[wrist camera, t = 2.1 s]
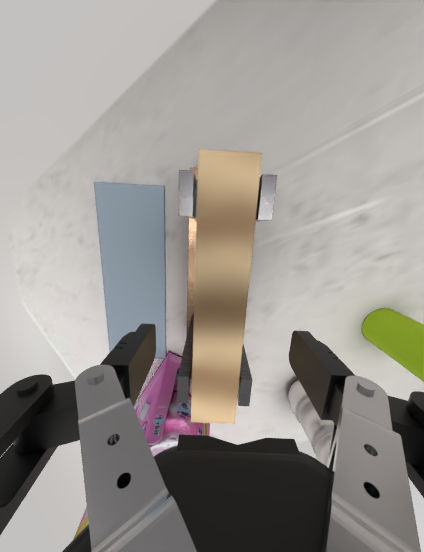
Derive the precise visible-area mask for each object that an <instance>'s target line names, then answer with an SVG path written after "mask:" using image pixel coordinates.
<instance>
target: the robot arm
mask: <svg viewBox="0 0 424 552" xmlns="http://www.w3.org/2000/svg"><path fill="white" fill-rule="evenodd" d="M155 354H156V326H155V324H143V323H142V324H140V326H139V327H138V328H137V330H136V331H135V332H129V333H128V334H126V335H125V336H123V337H122V338H121V340H120V341H119V342H118V344H117V345H116V346H115V347H114V349H112V351H111V352H110V353H109V354H108V356H107V357H106V358H105V359H104V360H103V362H102V363H101V364H100V365H97V366H93V367H91V368H88V369H86V370H85V371H83V372H82V373H81V374H80V375H79V376H78V377H77V378H76V380H75V381H71V382H65V383H60V384H55V385H53V383H52V379H51V377H50V376H48V375H34V376H31V377H27V378H25V379H22V380H20V381H18V382H16V383H14V384H13V385H11V386H10V387H9V388H7V389H6V390H5V391H4V392H3V393H1V394H0V457H1V455H2V454H3V453H4V452H5V451H6V450H7V449H8V447H9V446H10V445H11V444H12V443H13V444H12V445H11V446H10V447H9V449H8V450H7V451H6V452H5V453H4V454H3V456H2V457H1V458H0V535H1V533H2V532H3V530H4V529H5V527H6V526H7V524H8V522H9V521H10V519H11V518H12V516H13V515H14V513H15V512H16V510H17V509H18V507H19V505H20V504H21V502H22V501H23V499H24V498H25V496H26V495H27V493H28V492H29V490H30V488H31V487H32V485H33V484H34V482H35V481H36V479H37V477H38V476H39V474H40V473H41V471H42V470H43V468H44V467H45V465H46V463H47V462H48V460H49V459H50V457H51V456H52V454H53V453H54V451H55V450H56V448H57V447H58V446H59V445H63V444H67V443H70V442H73V441H78V440H80V444H81V454H82V463H83V473H84V483H85V492H86V502H87V512H88V521H89V524H88V525H87V526H86V527H85V528H84V529H83V530H82V531H81V532H80V533H79V534H78V535H77V537H76V538H75V539H74V540H73V541H72V542H71V543H70V544H69V545H68V546H67V547H66V548H65V549H64V550H63V552H421V549H420V544H419V538H418V532H417V526H416V520H415V515H414V509H413V503H412V497H411V491H410V486H409V480H408V477H409V478H410V480H411V481H412V482H413V484H414V485H415V487H416V488H417V489H418V491H419V492H420V493H421V495H422V496H423V497H424V392H412V393H411V394H410V397H409V400H408V401H406V400H402V399H398V398H395V397H391V396H388V395H387V394H386V392H385V391H384V390H383V389H382V388H381V387H380V386H379V385H377V384H376V383H374V382H372V381H370V380H368V379H366V378H363V377H360V376H355V375H354V374H353V373H352V372H351V371H350V370H349V369H348V367H347V366H346V365H345V364H344V363H343V362H342V361H341V360H340V359H338V357H337V356H336V355H335V354H333V352H332V351H331V350H330V349H329V348H328V347H327V346H326V345H325V344H323V343H321V342H320V341H317V340H316V339H315V338H314V337H313V336H312V335H311V334H310V333H309V332H308V331H294V332H293V334H292V339H291V346H290V352H289V362H290V365H291V367H292V369H293V371H294V373H295V374H296V376H297V378H298V380H299V381H300V383H301V385H302V387H303V389H304V390H305V392H306V394H307V396H308V398H309V399H310V401H311V403H312V405H313V406H314V408H315V410H316V412H317V414H318V415H319V417H320V419H321V420H332V421H333V423H334V427H333V431H332V437H331V443H330V448H329V454H328V460H327V466H326V465H324V464H323V463H321V462H320V461H318V460H316V459H315V458H313V457H311V456H309V455H307V454H304V453H302V452H300V451H299V450H298V448H297V445H296V443H295V440H294V439H279V438H264V439H260V440H256V441H252V442H248V443H245V444H241V445H236V444H232V443H229V442H226V441H223V440H220V439H217V438H214V437H210V436H205V435H181V434H179V438H178V445H177V446H174V447H171V448H168V449H166V450H164V451H162V452H160V453H158V454H157V455H155V456H154V457H153V454H152V452H151V449H150V447H149V444H148V442H147V439H146V437H145V434H144V432H143V429H142V427H141V424H140V422H139V419H138V417H137V415H136V412H135V410H134V407H133V406H134V404H135V402H136V400H137V397H138V395H139V393H140V391H141V388H142V386H143V384H144V381H145V379H146V377H147V375H148V372H149V370H150V368H151V366H152V363H153V361H154V358H155Z"/></svg>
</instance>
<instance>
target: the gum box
mask: <svg viewBox="0 0 424 552" xmlns="http://www.w3.org/2000/svg"><path fill="white" fill-rule="evenodd" d="M181 360H182V358H181V357H179V356H176V355H174V354H172V353H170V352H169V353H168V354H167V356H166V358H165V359H164V361H163V362H162V364H161V366H160V367H159V369H158V370H157V372H156V373H155V375H154V376H153V378H152V380H151V381H150V383H149V384H148V386H147V387H146V389H145V390H144V392H143V393H142V395H141V397H140V398H139V400H138V402H137V403H136V405H135V406H134V410H135V412H136V415H137V417H138V419H139V422H140V424H141V427H142V429H143V432H144V434H145V437H146V439H147V442H148V444H149V447H150V449H151V452H152V454H153V457H154V456H155V455H157V454H158V453H160V452H162V451H164V450H166V449H168V448H171V447H174V446H177V445H178V438H179V434H181V435H205V436H209V430H210V423H200V422H191V397H192V379H191V385H190V392H189V399H188V403H177V385H178V372H179V368H180V364H181ZM88 524H89V521H88V512H87V507H86V510H85V513H84V515H83V518H82V520H81V522H80V525H79V527H78V530H77V532H76V535H75V537H74V539H75V538H76V537H77V535H78V534H79V533H80V532H81V531H82V530H83V529H84V528H85V527H86V526H87V525H88Z"/></svg>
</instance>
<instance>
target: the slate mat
mask: <svg viewBox="0 0 424 552" xmlns="http://www.w3.org/2000/svg"><path fill="white" fill-rule="evenodd" d="M94 188H95V199H96V209H97V220H98V231H99V242H100V253H101V263H102V274H103V285H104V296H105V306H106V317H107V328H108V339H109V349H110V352H111V351H112V349H114V347H115V346H116V345H117V344H118V342H119V341H120V340H121V338H122V337H123V336H125V335H126V334H128V333H129V332H135V331H136V330H137V328H138V327H139V326H140V324H142V323H143V324H155V326H156V354H155V358H161V359H165V358H166V291H165V190H164V186H158V185H139V184H120V183H101V182H94Z"/></svg>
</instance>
